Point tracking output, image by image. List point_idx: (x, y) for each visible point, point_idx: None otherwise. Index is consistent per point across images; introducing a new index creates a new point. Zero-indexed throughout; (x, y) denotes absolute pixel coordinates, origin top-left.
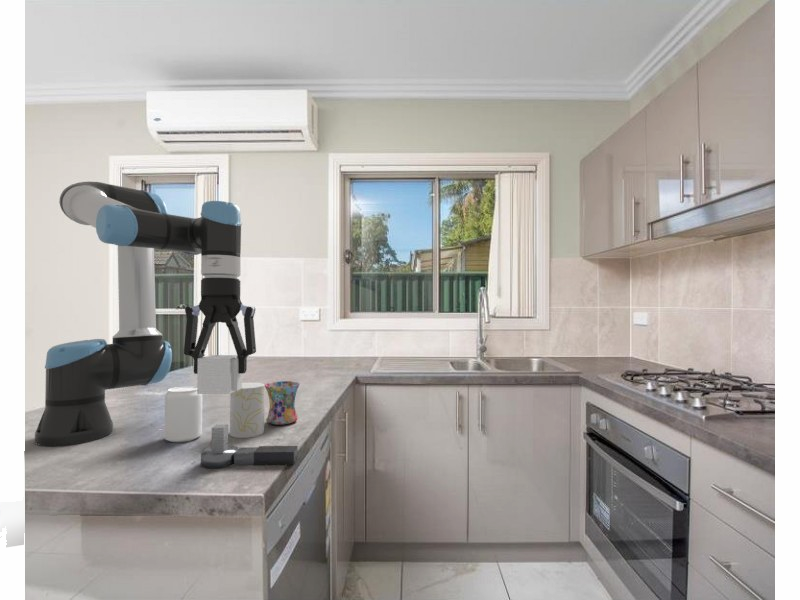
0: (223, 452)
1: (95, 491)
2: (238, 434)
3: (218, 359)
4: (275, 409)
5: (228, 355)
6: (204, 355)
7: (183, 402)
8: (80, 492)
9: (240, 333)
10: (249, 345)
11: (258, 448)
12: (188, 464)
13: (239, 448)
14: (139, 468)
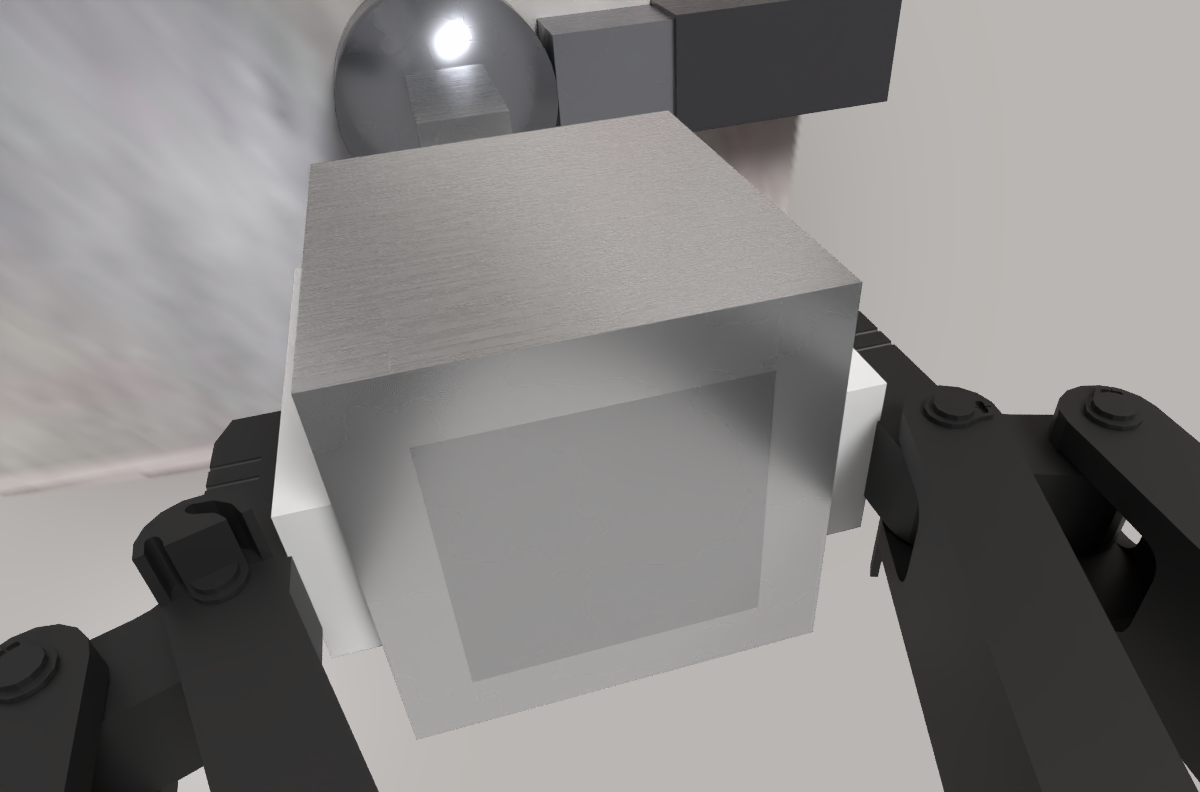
0: None
1: (102, 472)
2: None
3: (670, 657)
4: None
5: (665, 385)
6: (248, 508)
7: None
8: (45, 491)
9: (1161, 732)
10: (1127, 618)
11: (683, 63)
12: (270, 136)
13: (557, 54)
14: (17, 231)
